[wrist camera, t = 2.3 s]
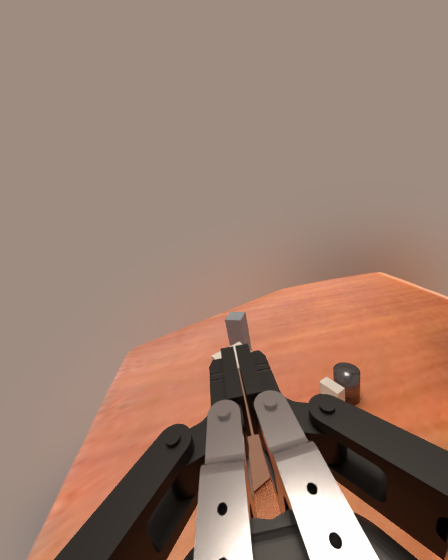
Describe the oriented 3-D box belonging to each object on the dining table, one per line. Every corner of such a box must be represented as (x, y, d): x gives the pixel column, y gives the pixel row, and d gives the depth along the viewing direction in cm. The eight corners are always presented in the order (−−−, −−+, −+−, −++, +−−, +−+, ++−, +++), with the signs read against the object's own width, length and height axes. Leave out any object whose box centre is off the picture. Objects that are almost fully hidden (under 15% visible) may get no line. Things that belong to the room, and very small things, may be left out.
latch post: (253, 364, 47) (245, 312, 44) (249, 374, 45) (240, 320, 41) (240, 362, 49) (230, 311, 45) (235, 372, 46) (224, 319, 42)
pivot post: (337, 384, 39) (337, 359, 38) (362, 392, 37) (362, 367, 35) (331, 399, 37) (330, 374, 35) (356, 409, 34) (357, 382, 33)
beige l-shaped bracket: (326, 395, 37) (321, 299, 32) (346, 410, 34) (345, 307, 29) (227, 472, 29) (199, 362, 24) (243, 500, 26) (215, 381, 21)
